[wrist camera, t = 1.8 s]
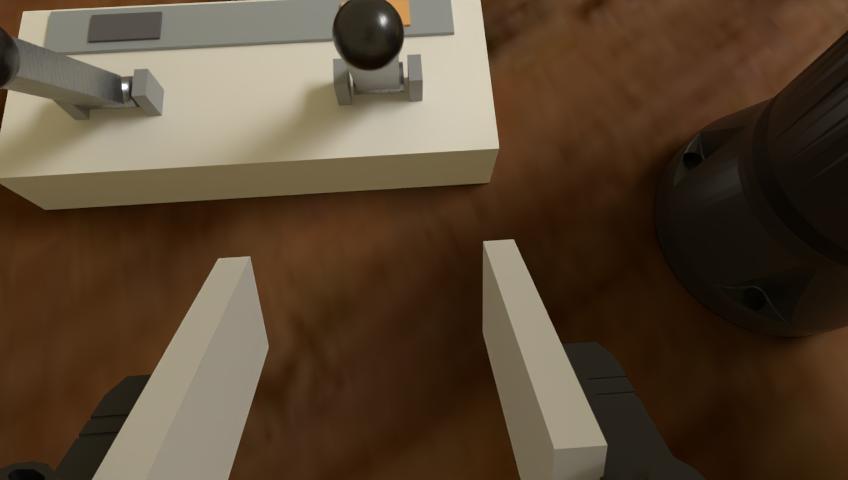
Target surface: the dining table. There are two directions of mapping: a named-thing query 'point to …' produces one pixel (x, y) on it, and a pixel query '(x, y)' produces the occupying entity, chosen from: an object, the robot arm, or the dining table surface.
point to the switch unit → (250, 106)
